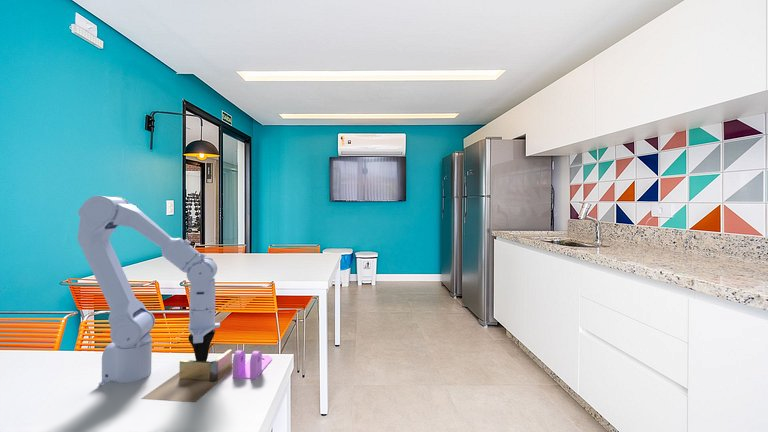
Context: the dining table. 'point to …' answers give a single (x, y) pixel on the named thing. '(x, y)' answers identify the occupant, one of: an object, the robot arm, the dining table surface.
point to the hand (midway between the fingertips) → (201, 361)
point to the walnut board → (183, 389)
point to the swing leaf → (194, 369)
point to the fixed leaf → (220, 365)
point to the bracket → (249, 364)
